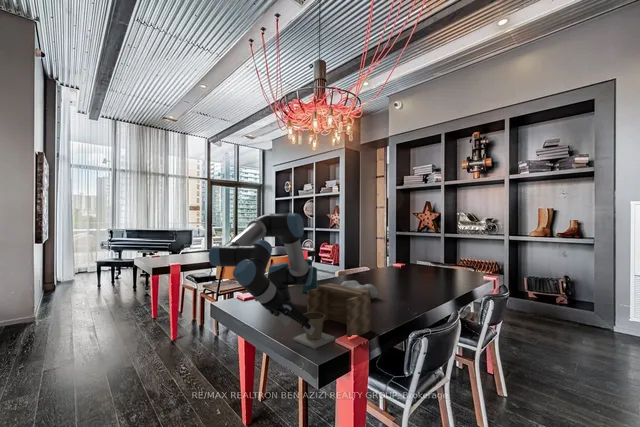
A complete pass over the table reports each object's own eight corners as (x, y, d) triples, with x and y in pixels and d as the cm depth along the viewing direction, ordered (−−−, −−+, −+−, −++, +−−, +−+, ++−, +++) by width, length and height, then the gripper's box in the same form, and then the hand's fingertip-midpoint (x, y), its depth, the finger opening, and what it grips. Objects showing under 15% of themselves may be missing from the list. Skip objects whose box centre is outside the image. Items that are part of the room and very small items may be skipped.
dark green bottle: (318, 291, 197) (318, 259, 198) (309, 294, 191) (309, 261, 192) (308, 289, 204) (308, 258, 205) (299, 291, 197) (299, 260, 198)
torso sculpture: (380, 302, 177) (353, 288, 203) (380, 285, 176) (353, 273, 203) (359, 306, 170) (334, 290, 196) (359, 288, 169) (334, 275, 196)
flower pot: (326, 333, 119) (326, 312, 120) (324, 342, 110) (324, 319, 110) (304, 332, 120) (303, 311, 120) (300, 341, 111) (300, 319, 111)
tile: (314, 348, 106) (314, 346, 106) (293, 340, 115) (293, 337, 115) (335, 339, 115) (335, 336, 115) (314, 331, 123) (314, 329, 123)
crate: (349, 340, 114) (348, 297, 115) (307, 325, 131) (307, 288, 131) (370, 330, 125) (370, 290, 125) (329, 317, 142) (329, 283, 142)
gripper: (242, 298, 106) (274, 328, 116) (284, 311, 89) (318, 345, 99) (254, 281, 110) (284, 312, 120) (297, 291, 93) (328, 326, 103)
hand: (300, 327), depth 110 cm, fingers open, 13 cm apart
